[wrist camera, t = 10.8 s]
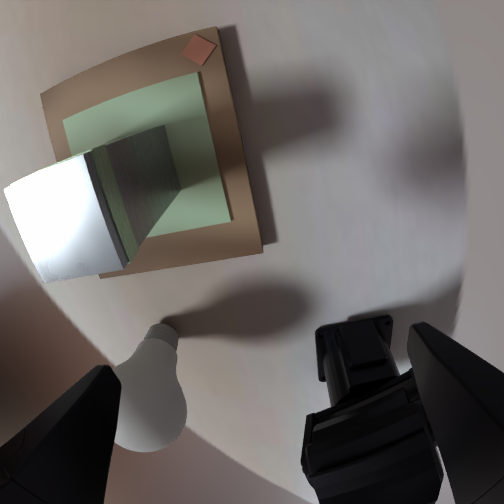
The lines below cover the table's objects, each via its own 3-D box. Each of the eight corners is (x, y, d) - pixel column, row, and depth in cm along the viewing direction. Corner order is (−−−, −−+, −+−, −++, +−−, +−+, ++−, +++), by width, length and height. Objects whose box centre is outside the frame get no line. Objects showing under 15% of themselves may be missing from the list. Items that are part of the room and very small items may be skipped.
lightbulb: (193, 296, 23) (159, 425, 13) (209, 354, 26) (191, 471, 16) (120, 300, 23) (63, 411, 13) (143, 354, 26) (108, 459, 16)
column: (182, 190, 18) (125, 270, 10) (122, 205, 18) (43, 284, 10) (165, 123, 16) (83, 152, 8) (103, 143, 16) (3, 188, 8)
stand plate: (262, 245, 21) (263, 254, 20) (105, 271, 22) (99, 280, 21) (218, 29, 14) (215, 25, 13) (48, 93, 16) (38, 94, 15)
